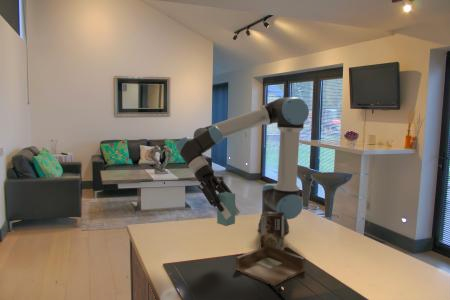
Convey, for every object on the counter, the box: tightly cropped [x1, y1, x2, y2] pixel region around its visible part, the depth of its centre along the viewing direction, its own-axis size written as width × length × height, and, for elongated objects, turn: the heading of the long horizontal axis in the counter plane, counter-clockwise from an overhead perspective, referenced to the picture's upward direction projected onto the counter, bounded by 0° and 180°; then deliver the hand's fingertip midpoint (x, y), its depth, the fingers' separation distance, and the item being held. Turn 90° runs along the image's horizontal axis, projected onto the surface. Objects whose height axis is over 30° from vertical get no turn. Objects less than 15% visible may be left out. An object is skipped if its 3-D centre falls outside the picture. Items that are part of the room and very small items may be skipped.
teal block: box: [216, 192, 236, 227], centre depth 151 cm, size 5×5×12 cm
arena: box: [235, 245, 306, 286], centre depth 142 cm, size 18×18×5 cm
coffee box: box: [260, 211, 285, 251], centre depth 161 cm, size 9×6×16 cm
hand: (233, 215), depth 150 cm, fingers closed on teal block, 6 cm apart
